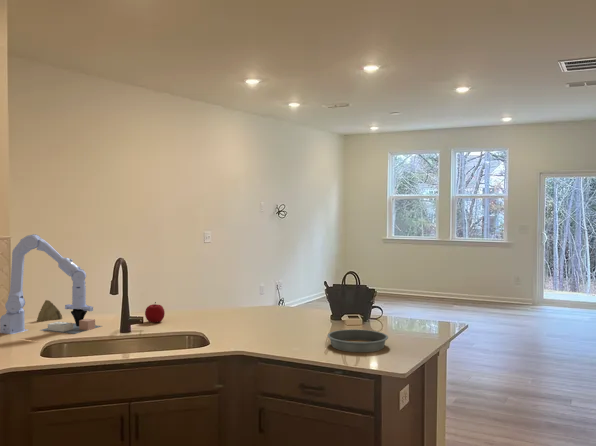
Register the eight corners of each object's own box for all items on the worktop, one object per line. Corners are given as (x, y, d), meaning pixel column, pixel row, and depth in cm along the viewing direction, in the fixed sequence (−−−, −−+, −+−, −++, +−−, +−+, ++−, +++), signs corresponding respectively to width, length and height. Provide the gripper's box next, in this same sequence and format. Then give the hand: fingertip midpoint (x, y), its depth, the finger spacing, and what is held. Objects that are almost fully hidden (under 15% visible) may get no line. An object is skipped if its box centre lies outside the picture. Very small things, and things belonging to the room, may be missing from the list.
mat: (74, 335, 243) (74, 334, 243) (39, 331, 250) (39, 330, 250) (102, 327, 260) (102, 326, 260) (68, 323, 267) (68, 322, 267)
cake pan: (399, 345, 229) (399, 334, 229) (365, 357, 211) (365, 345, 211) (351, 336, 246) (351, 326, 245) (315, 346, 227) (315, 335, 227)
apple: (167, 320, 277) (167, 300, 277) (160, 324, 268) (160, 303, 268) (149, 319, 278) (149, 299, 278) (142, 323, 269) (142, 302, 269)
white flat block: (63, 331, 248) (63, 325, 248) (47, 329, 251) (47, 323, 251) (73, 328, 253) (73, 322, 253) (57, 327, 256) (57, 321, 256)
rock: (68, 314, 279) (52, 310, 283) (62, 302, 274) (46, 298, 277) (54, 330, 272) (38, 326, 275) (47, 318, 266) (31, 314, 270)
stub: (88, 330, 251) (88, 321, 251) (79, 329, 253) (79, 320, 252) (95, 328, 255) (95, 319, 255) (86, 327, 257) (86, 318, 257)
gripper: (97, 295, 256) (97, 325, 256) (72, 293, 261) (73, 322, 262) (86, 298, 250) (86, 328, 250) (61, 296, 255) (61, 325, 255)
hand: (79, 325), depth 255 cm, fingers closed
